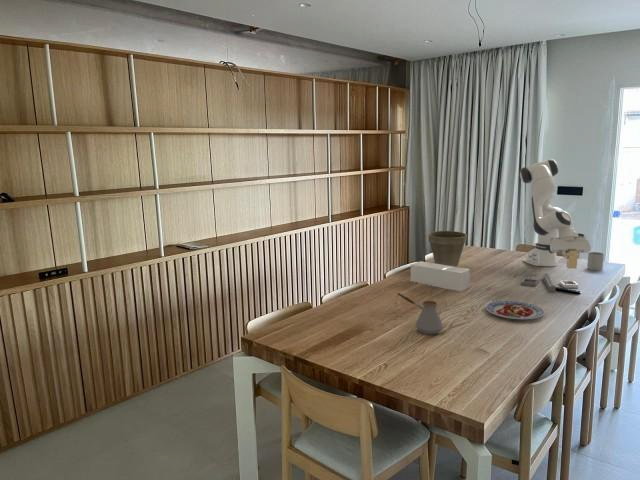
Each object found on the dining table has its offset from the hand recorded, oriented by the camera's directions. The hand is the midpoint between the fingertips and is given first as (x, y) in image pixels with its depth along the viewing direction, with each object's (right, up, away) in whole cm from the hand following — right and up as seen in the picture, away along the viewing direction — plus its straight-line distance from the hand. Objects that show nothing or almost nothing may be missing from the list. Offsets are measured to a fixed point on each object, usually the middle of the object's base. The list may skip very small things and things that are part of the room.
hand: (572, 258), depth 259 cm
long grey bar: (-10, -15, +7) cm, 19 cm away
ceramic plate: (-47, -25, -36) cm, 65 cm away
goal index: (-19, -15, +10) cm, 26 cm away
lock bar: (0, -5, +2) cm, 5 cm away
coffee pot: (-96, -29, -53) cm, 114 cm away
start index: (0, -16, +4) cm, 16 cm away
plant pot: (-54, -7, +57) cm, 79 cm away
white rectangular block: (-70, -16, +14) cm, 73 cm away
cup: (+35, -8, +38) cm, 53 cm away
